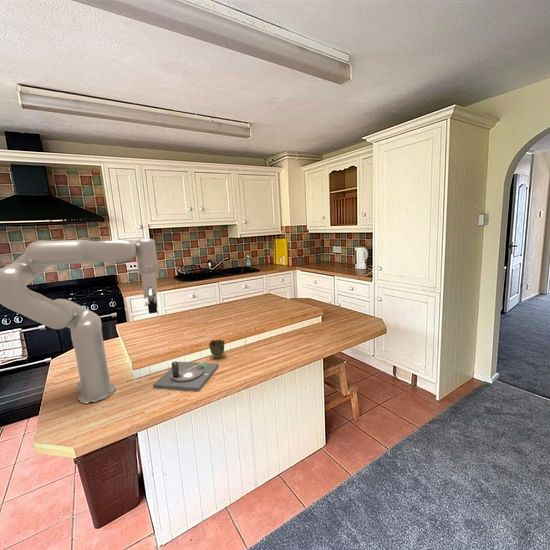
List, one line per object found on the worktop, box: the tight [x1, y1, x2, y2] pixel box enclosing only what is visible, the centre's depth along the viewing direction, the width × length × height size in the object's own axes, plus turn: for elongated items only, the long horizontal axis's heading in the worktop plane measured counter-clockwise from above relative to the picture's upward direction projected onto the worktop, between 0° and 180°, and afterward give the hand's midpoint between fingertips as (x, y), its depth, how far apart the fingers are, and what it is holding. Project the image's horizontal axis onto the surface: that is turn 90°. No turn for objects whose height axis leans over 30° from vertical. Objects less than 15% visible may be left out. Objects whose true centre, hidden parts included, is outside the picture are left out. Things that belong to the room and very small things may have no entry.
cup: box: [208, 339, 225, 360], centre depth 143 cm, size 8×7×8 cm
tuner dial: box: [170, 360, 206, 382], centre depth 127 cm, size 17×14×7 cm
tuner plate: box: [152, 361, 220, 392], centre depth 126 cm, size 20×20×2 cm
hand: (153, 309), depth 122 cm, fingers open, 9 cm apart
